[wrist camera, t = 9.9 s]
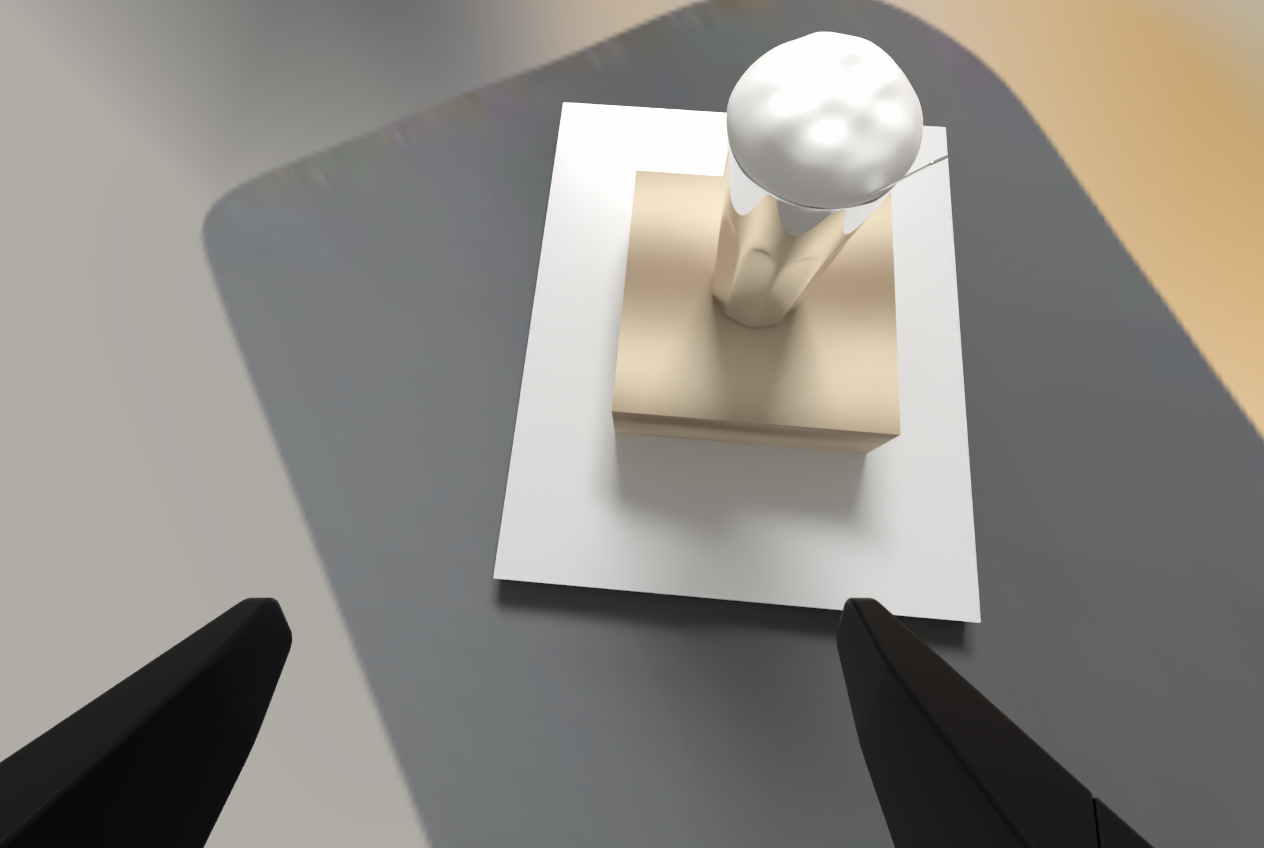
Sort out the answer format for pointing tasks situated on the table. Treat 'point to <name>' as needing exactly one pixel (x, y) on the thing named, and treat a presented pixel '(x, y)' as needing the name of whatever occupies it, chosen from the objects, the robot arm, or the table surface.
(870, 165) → the milkshake
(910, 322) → the baseplate
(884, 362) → the plinth
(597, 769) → the table surface
